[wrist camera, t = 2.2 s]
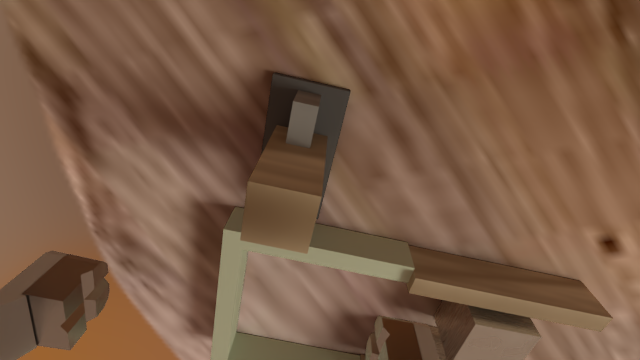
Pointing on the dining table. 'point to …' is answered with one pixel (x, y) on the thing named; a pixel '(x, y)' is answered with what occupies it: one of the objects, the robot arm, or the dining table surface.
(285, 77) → the pad
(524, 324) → the tan cube
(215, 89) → the dining table surface
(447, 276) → the slot rails
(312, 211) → the wooden block with peg
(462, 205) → the dining table surface
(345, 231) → the open picture frame
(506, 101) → the dining table surface
